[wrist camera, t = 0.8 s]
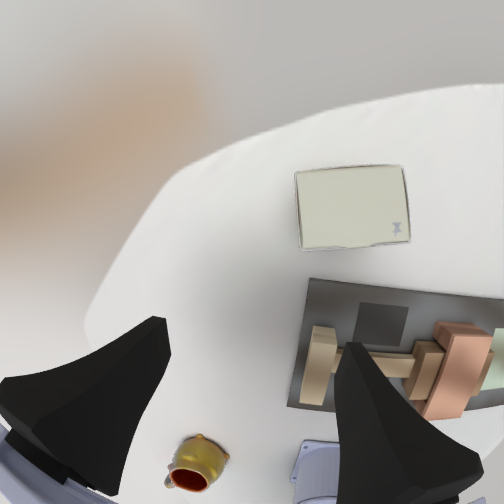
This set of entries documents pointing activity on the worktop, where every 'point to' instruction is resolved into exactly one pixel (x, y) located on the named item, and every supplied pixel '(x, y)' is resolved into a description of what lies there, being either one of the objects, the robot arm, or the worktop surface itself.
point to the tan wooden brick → (392, 365)
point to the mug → (196, 465)
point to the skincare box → (352, 207)
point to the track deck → (411, 340)
